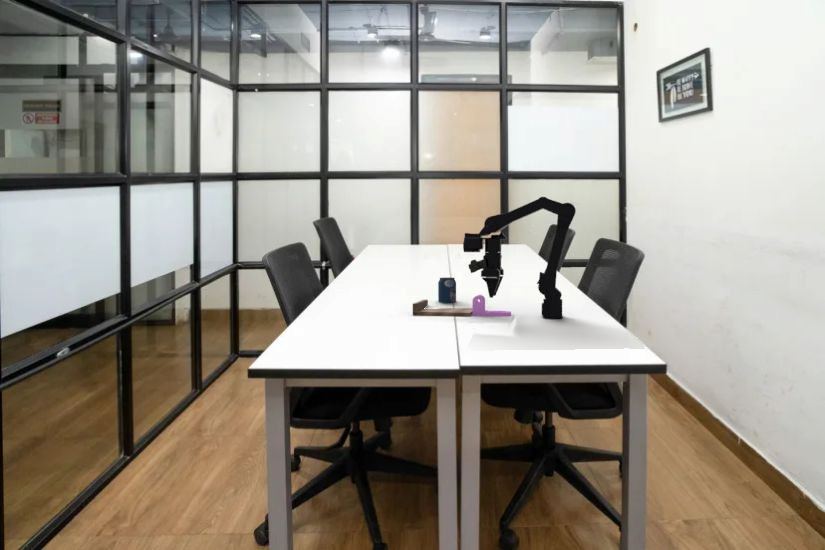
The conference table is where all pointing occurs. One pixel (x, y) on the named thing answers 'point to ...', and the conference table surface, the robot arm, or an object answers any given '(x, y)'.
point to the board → (439, 310)
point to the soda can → (447, 290)
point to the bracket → (480, 308)
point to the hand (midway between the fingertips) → (492, 296)
